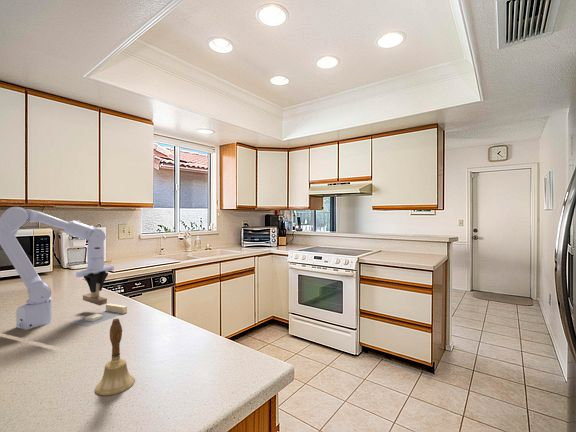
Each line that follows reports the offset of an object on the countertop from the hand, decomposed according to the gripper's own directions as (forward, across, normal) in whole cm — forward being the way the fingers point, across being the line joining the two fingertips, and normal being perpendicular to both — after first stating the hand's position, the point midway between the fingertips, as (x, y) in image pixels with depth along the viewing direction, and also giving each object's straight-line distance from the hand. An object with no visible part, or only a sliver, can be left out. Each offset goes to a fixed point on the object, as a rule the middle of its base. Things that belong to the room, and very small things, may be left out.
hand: (96, 291), depth 120 cm
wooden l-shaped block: (+4, 0, -1) cm, 4 cm away
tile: (+8, +6, +7) cm, 13 cm away
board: (+9, +4, +7) cm, 12 cm away
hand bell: (+10, +33, +52) cm, 63 cm away
